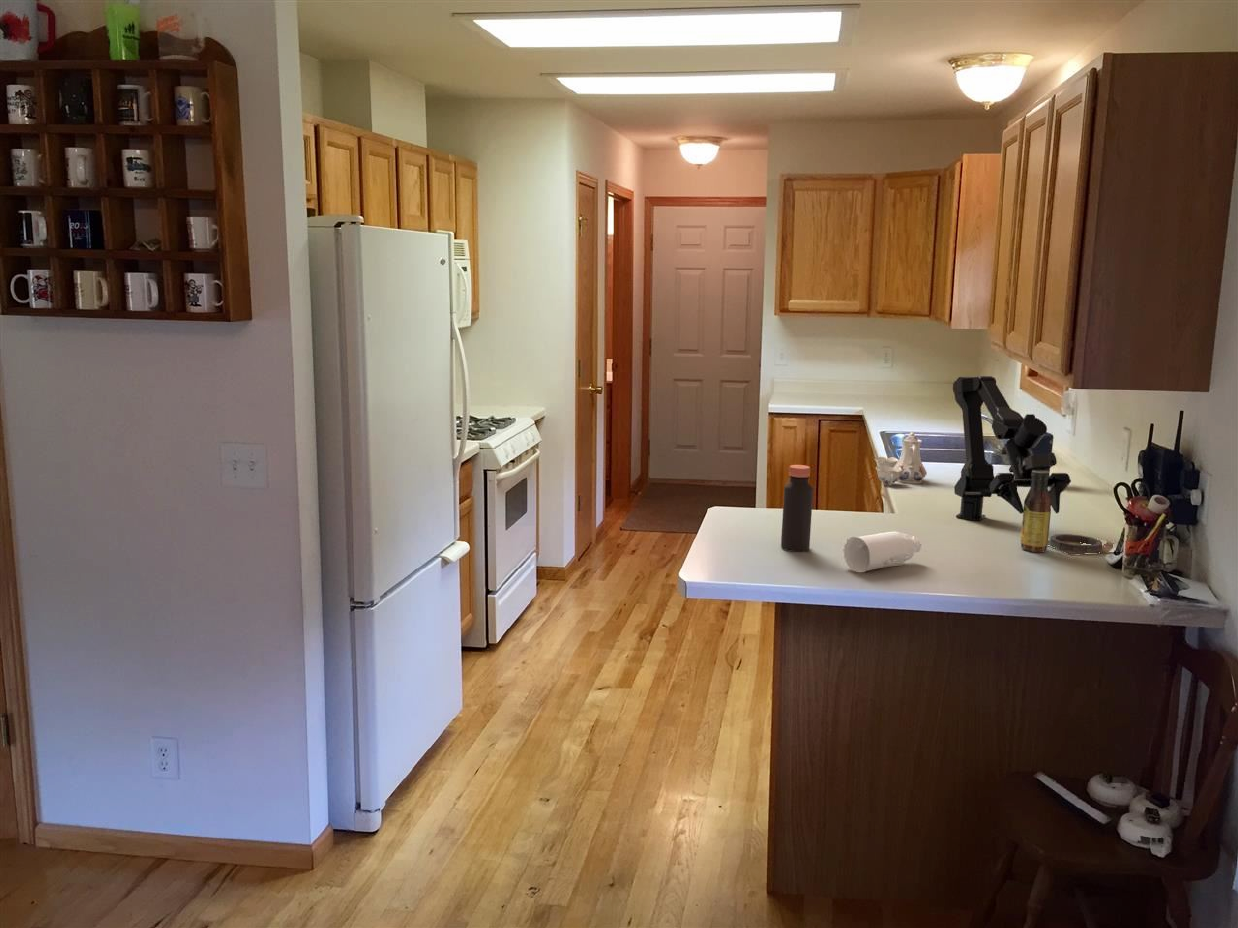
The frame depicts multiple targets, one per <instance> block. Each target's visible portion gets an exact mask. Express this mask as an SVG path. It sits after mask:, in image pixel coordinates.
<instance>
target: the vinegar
mask: <svg viewBox="0 0 1238 928" xmlns="http://www.w3.org/2000/svg"><path fill="white" fill-rule="evenodd" d="M788 467H789V468H788V469H789V470H788V475H789V476H788V477H789V481H788V482H787V483H786V484H785V485H784V488H783V502H782V503H783V504H782V520H781V521H782V523H781V537H780V539H781V540H780V541H781V542H780V547H781V548H782V549H783V550H785V549H786V551H789V550H790V552H806V551H808V550H809V549H810V546H811V528H812V512H813V494H814V488H813V486H812V485H811V484H810V482H809V479H810V475H811V467H810V466H808V465H803V464H792V465H790V466H788Z"/></svg>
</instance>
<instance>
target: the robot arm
mask: <svg viewBox="0 0 1238 928" xmlns="http://www.w3.org/2000/svg"><path fill="white" fill-rule="evenodd" d="M952 391H953V394H954V400H955V403H956V404H958V406H959V408H961V410H962V411H961V412H962V422H963V423H962V424H963V435H964V447H965V463H964V464H963V466H962V467H961V471H960V477H959V479H958V480H957V482H956V483H955V485H954V487H953V488H954V489H953V491H954V495H956V496H958V497H961V500H960V509H959V510H960V511H959V512H960V513H958V514H956V515H955V518H957V519H958V518H959V519H965V520H971V521H977V522H978V521H981V520H983V519H984V518H986V516H987V515H986V514H983V508H984V507H983V506H984V498H991V497H992V495H996V496H997V497H1000V498H1002V499H1003V500H1005V502H1007V503H1008V504H1009V505H1011V506H1012V507H1013V508H1014V509H1015V510H1016V511H1017V512H1018V513H1019V514H1020V515H1021V514H1022V515H1023V512H1024V510H1023V509H1024V505H1023V503H1022V501H1021V497H1020V494H1019V492H1018V488H1019V487H1020V488H1031V483H1032V476H1031V474H1032V470H1037V469H1040V470H1045V469H1047V468H1050V469H1051V468H1052V467H1054V466H1056V465H1057V464H1058V463H1057V462H1058V461H1057V457H1056V454H1055V452H1052V453H1047V454H1044V455H1032V452H1031V448H1034V447H1035V446H1036V445H1037V444H1038V442H1039V441H1040V440H1041V438H1042V437H1043V436H1044V435H1045V433H1046V432H1047V431H1048V427H1047V425H1046V423H1045V422H1043V420H1041V419H1039V418H1036V416H1035V414H1031V413H1029V414H1028V413H1027V414H1025V416H1024V417H1023V416H1022V415H1021V414H1020V413H1019V412H1017V410H1013V409H1012V408H1011V407H1010V405H1009V403H1008V402H1007V400H1006V399H1005V397H1004V395H1003V394H1002V392H1001V390H1000V389H999V387H998V385H997V380H996V378H995V377H994V376H991V375H990V376H988V375H977V376H959V377H958V378H956V380H955V381H953V383H952ZM983 404H984V406H985V407H986V408H987V410H988V413H989V414H990V415H991V416H990V417H991V418H992V423H991V428H992V431H993V434H994V436H995V438H996V439H997V440H1007V442H1005V443H1004V446H1003V448H1002V449H1001V455H1006V458H1007V459H1008V461H1009V465H1010V467H1009V468H1008V471H1009V472H997V473H996V475H994V465H993V463H989V462H988V461H987V459H986V455H985V444H984V443H985V440H984V431H983V419H982V418H983V417H982V405H983ZM1071 482H1072V480H1071V477H1070V475H1069V473H1066V472H1052V473H1051V474H1049V478H1048V489H1047V491H1048V493H1049V495H1050V497H1051V509H1052V510H1053V511H1054V513H1055V514H1058V513H1060V507H1061V504H1060V503H1061V494H1062V493H1063V492H1064V490H1066V488H1067V487H1068V486H1069V485H1070V483H1071Z"/></svg>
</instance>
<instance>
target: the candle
mask: <svg viewBox="0 0 1238 928" xmlns="http://www.w3.org/2000/svg"><path fill="white" fill-rule="evenodd" d="M1053 444H1054V435H1053V433H1051V432H1047V431H1046V433H1045V435H1044V436H1043V437H1042V438H1041V440H1040V441H1039V442H1038V444H1037V445H1036V446H1035V447H1034V448H1031V452H1032V455H1044V454H1047V453H1053V446H1054V445H1053ZM1045 470H1047V471H1049V472H1050V471H1051V468H1047V469H1045ZM1050 473H1051V472H1050Z"/></svg>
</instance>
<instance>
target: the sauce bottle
mask: <svg viewBox="0 0 1238 928" xmlns="http://www.w3.org/2000/svg"><path fill="white" fill-rule="evenodd" d="M1050 473H1051V472H1049V471H1047V470H1040V469H1037V470H1032V474H1031V476H1032V483H1031V487H1029V488H1030V489H1029V491H1028V493H1027V494H1026V497H1025V499H1024V500H1023V510H1024V512H1023V513H1022V523H1021V534H1020V546H1021V549H1022V548H1023V549H1026V550H1025V551H1027V550H1028V551H1027V552H1031V551H1033V553H1043V551H1044V552H1047V549H1048V546H1047V544H1048V541H1049V538H1050V524H1051V514H1052V506H1051V497H1050V495H1049V493H1048V491H1047V489H1048V478H1049V476H1050V475H1051V474H1050ZM1023 549H1022V550H1023Z"/></svg>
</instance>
